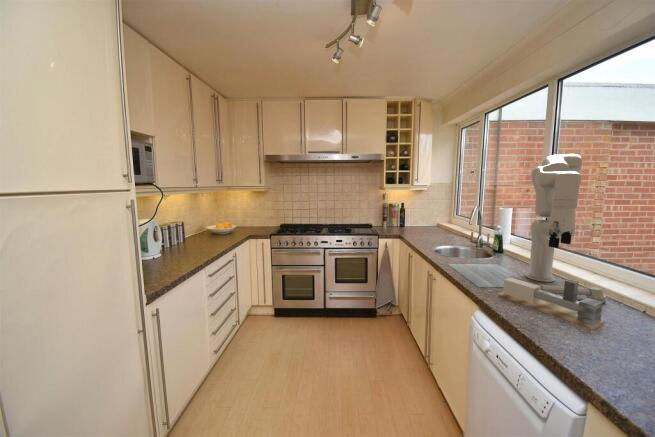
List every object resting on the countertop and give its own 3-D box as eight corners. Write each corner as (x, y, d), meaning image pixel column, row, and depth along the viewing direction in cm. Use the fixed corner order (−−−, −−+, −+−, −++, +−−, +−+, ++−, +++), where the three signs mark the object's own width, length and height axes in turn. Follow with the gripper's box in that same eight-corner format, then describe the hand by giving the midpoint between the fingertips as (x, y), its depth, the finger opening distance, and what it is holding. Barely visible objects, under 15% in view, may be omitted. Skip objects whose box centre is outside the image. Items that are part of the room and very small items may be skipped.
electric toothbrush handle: (531, 282, 128) (602, 284, 116) (532, 295, 129) (603, 299, 117) (533, 286, 124) (607, 288, 112) (534, 300, 124) (608, 303, 112)
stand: (498, 295, 123) (499, 277, 122) (509, 291, 127) (511, 274, 126) (593, 329, 94) (595, 307, 93) (604, 323, 98) (607, 302, 97)
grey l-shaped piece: (526, 294, 115) (528, 271, 114) (530, 293, 117) (532, 270, 115) (590, 316, 97) (594, 288, 95) (594, 314, 98) (598, 286, 96)
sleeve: (503, 293, 123) (504, 279, 122) (509, 290, 125) (510, 277, 124) (532, 303, 112) (533, 288, 112) (539, 300, 115) (540, 286, 114)
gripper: (563, 201, 113) (558, 240, 116) (542, 204, 106) (537, 246, 108) (586, 202, 107) (581, 244, 110) (565, 206, 99) (560, 250, 102)
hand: (559, 245), depth 109 cm, fingers open, 9 cm apart
